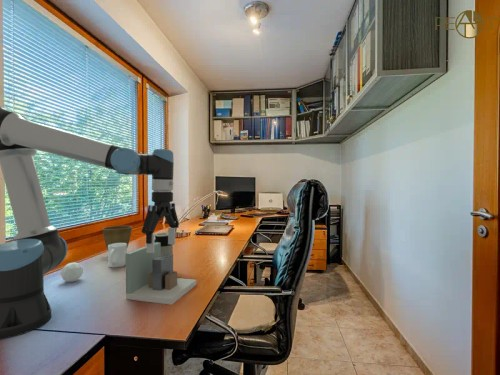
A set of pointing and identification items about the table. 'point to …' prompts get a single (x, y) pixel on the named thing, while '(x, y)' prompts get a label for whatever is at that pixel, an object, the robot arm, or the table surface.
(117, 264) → the mug
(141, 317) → the table surface
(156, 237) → the travel mug
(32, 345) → the table surface
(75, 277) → the ball
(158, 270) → the grey rectangular box
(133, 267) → the l-shaped bookend
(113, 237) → the plant pot
